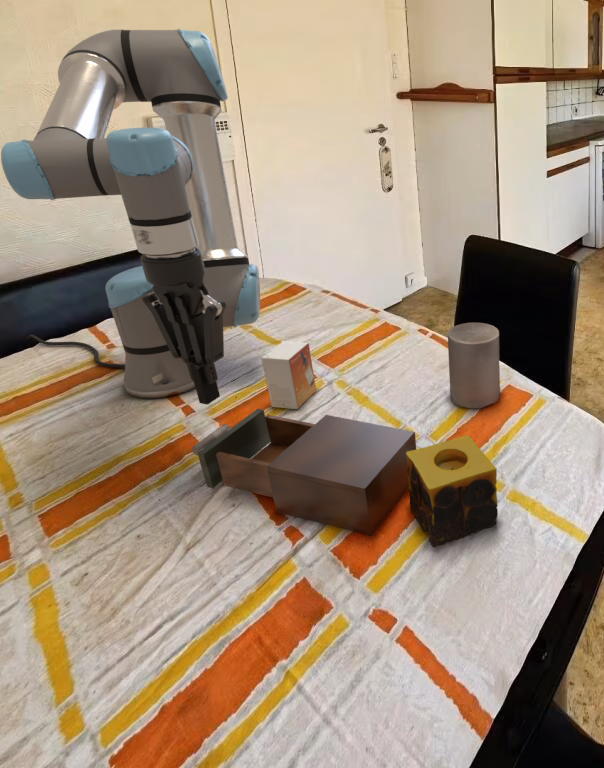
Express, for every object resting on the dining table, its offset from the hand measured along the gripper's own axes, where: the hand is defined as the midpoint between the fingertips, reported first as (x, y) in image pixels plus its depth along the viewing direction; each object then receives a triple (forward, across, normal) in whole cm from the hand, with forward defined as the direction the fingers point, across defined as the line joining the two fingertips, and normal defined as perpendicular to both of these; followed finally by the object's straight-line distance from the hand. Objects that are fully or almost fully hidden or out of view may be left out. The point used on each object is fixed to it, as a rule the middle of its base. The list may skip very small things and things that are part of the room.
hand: (210, 399), depth 96 cm
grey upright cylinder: (+12, +30, +34) cm, 47 cm away
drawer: (+11, +7, 0) cm, 13 cm away
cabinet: (+12, +24, 0) cm, 26 cm away
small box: (+13, -2, +22) cm, 25 cm away
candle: (+12, +41, 0) cm, 42 cm away
